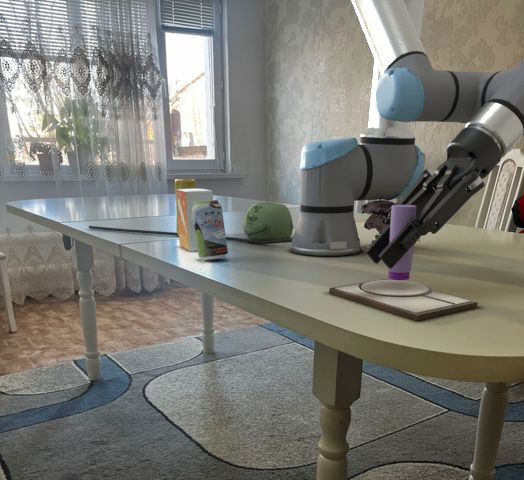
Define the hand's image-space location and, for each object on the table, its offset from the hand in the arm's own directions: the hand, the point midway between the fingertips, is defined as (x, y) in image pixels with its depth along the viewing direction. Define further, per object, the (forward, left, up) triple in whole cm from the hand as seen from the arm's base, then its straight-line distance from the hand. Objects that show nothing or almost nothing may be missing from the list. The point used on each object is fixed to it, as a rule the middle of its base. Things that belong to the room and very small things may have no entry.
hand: (377, 259), depth 83 cm
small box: (-55, -4, -5) cm, 55 cm away
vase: (-75, +3, -5) cm, 75 cm away
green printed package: (-40, -8, -5) cm, 41 cm away
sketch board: (+5, 0, -5) cm, 7 cm away
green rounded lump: (-60, +18, -5) cm, 62 cm away
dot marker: (+1, +4, -3) cm, 5 cm away
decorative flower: (-30, +33, -5) cm, 45 cm away
